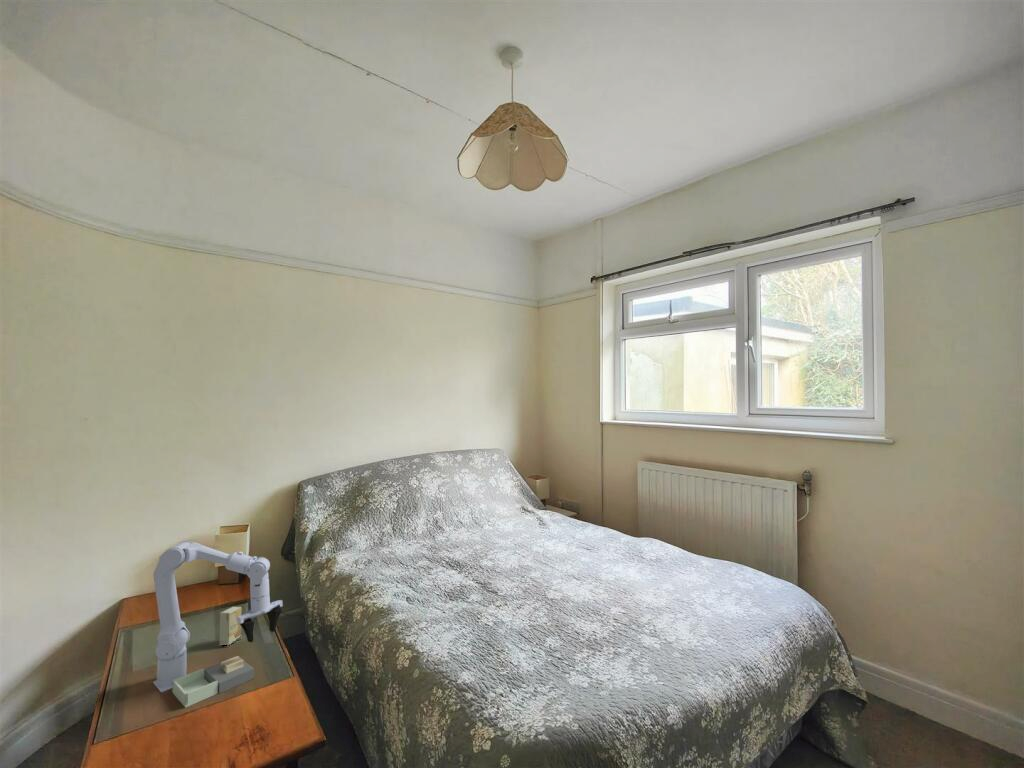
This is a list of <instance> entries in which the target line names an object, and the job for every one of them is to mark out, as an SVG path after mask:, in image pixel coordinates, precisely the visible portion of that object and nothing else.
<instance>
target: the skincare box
mask: <svg viewBox="0 0 1024 768" xmlns="http://www.w3.org/2000/svg"><path fill="white" fill-rule="evenodd" d="M241 615H242V606H232V607H229V608H227V609H225V610H223V611H221V612H219V644H220V643H221V644H226V645H229V644H231V643H232V642H233V641H235V640H236V639H237V638H239V637H240V636H241V637H242V627H241V625H240V624H239V623H237V617H238V616H241Z"/></svg>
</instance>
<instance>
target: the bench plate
mask: <svg viewBox="0 0 1024 768" xmlns="http://www.w3.org/2000/svg"><path fill="white" fill-rule="evenodd" d="M204 679H205V680H206V681H207V682H208V683H212V682H215V681H218V693H217V694H222V693H223V692H226V691H229V690H230V689H233V688H235V687H237V686H240V685H242V684H244V683H247V682H250V680H253V679H255V668H254V667H253V666H251V664H249V663H248V662H246V661H245V660H244V666H243V667H241V668H239V669H236V670H234V671H231V672H229V673H226V672H224V671H223V670H222V669H221V662H218V663H217V664H213V665H211V666H209V667H206V668H204Z"/></svg>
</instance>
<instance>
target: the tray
mask: <svg viewBox="0 0 1024 768" xmlns="http://www.w3.org/2000/svg"><path fill="white" fill-rule="evenodd" d="M204 669H205V668H204V667H203V668H201V669H198V670H196V671H193V672H191V673H188V674H186V675H185V676H183V677H180V678H178V679H175V680H172V688H171V690H172V694H173V695H174V696H175V697H176V699H177V700H178V701H179V702H180V703H181V704H182V706H183V707H184V708H188V707H190V706H193V705H194V704H196V703H199V702H201V701H204V700H206V699H208V698H210V697H212V696H215V695H218V694H219V693H218V681H215V682H212V683H208V682H207V681H206V680H205V679H204Z"/></svg>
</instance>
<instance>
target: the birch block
mask: <svg viewBox="0 0 1024 768" xmlns="http://www.w3.org/2000/svg"><path fill="white" fill-rule="evenodd" d="M244 661H245V660H244V659H243V658H242V657H240V656H239V655H236V656H234V657H230V658H229V659H226V660H223V661H221V662H220V663H221V669H222V670H223V671H224V672H226V673H229V672H231V671H234V670H236V669H239V668H241V667H243V666H244Z"/></svg>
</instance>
